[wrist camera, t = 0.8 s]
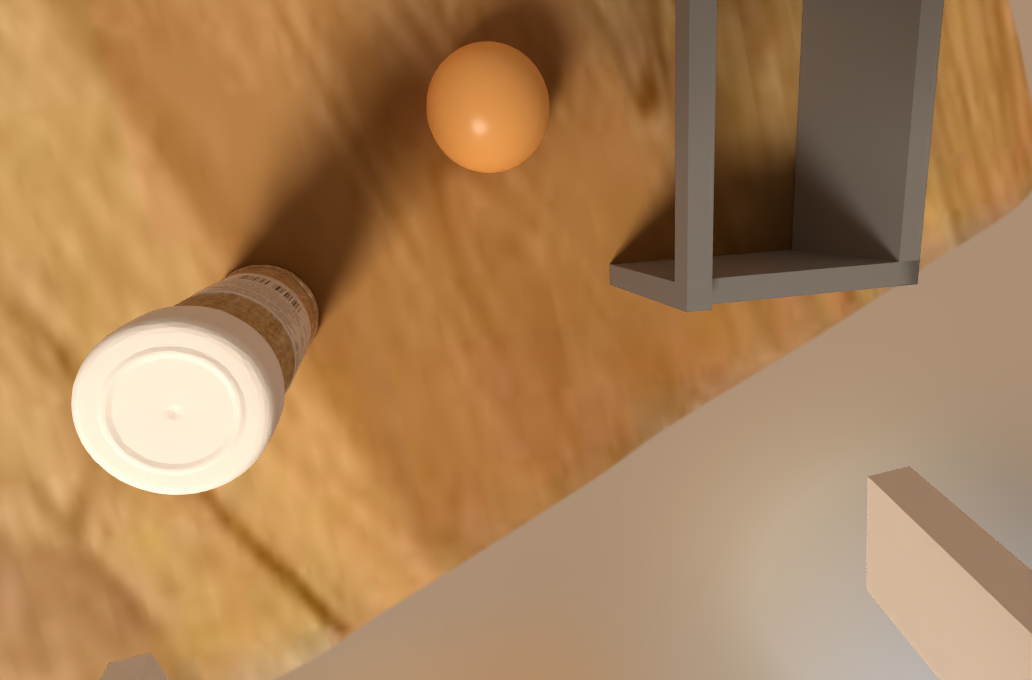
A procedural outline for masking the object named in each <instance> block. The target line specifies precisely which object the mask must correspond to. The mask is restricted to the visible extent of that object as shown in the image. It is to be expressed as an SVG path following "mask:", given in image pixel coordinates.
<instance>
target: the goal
mask: <svg viewBox="0 0 1032 680" xmlns="http://www.w3.org/2000/svg"><path fill="white" fill-rule="evenodd" d="M943 6H944V0H803V16H802V37H801V59H800V80H799V102H798V123H797V145H796V166H795V188H794V210H793V231H792V250H780V251H768V252H756V253H743V254H731V255H719V256H713V207H714V150H715V94H716V37H717V0H676V95H675V259H669V260H657V261H644V262H632V263H620V264H610V285H613V286H615V287H618V288H621V289H624V290H627V291H629V292H632V293H635V294H638V295H640V296H643V297H646V298H649V299H652V300H654V301H657V302H660V303H663V304H666V305H668V306H671V307H674V308H677V309H680V310H682V311H685V312H693V311H703V310H712V304H718V303H728V302H739V301H749V300H759V299H770V298H780V297H790V296H800V295H811V294H821V293H831V292H842V291H852V290H862V289H872V288H883V287H893V286H903V285H913V284H917V283H918V273H919V262H920V252H921V241H922V230H923V220H924V209H925V198H926V188H927V177H928V166H929V155H930V145H931V134H932V123H933V113H934V102H935V91H936V80H937V70H938V59H939V48H940V38H941V27H942V16H943Z"/></svg>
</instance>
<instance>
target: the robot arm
mask: <svg viewBox="0 0 1032 680" xmlns="http://www.w3.org/2000/svg"><path fill="white" fill-rule="evenodd" d="M866 565H867V566H866V590H867V591H868V592H869V593H870V594H871V596H872V597H873V598H874V599H875V601H876V602H877V603H878V604H879V606H880V607H881V608H882V609H883V610H884V612H885V613H886V614H887V615H888V617H889V618H890V619H891V620H892V622H893V623H894V624H895V625H896V627H897V628H898V629H899V630H900V631H901V633H902V634H903V635H904V636H905V638H906V639H907V640H908V641H909V643H910V644H911V645H912V646H913V647H914V649H915V650H916V651H917V652H918V654H919V655H920V656H921V657H922V659H923V660H924V661H925V662H926V663H927V665H928V666H929V667H930V669H931V670H932V671H933V672H934V673H935V675H936V676H937V677H938V678H939V680H1032V570H1031V569H1029V568H1028V567H1027V566H1026V565H1024V564H1023V563H1022V562H1021V561H1020V560H1019V559H1018V558H1016V557H1015V556H1014V555H1013V554H1012V553H1010V552H1009V551H1008V550H1007V549H1006V548H1005V547H1004V546H1002V545H1001V544H1000V543H999V542H998V541H996V540H995V539H994V538H993V537H992V536H991V535H989V534H988V533H987V532H986V531H985V530H983V529H982V528H981V527H980V526H979V525H978V524H977V523H975V522H974V521H973V520H972V519H971V518H969V517H968V516H967V515H966V514H965V513H964V512H962V511H961V510H960V509H959V508H958V507H956V506H955V505H954V504H953V503H952V502H951V501H950V500H948V499H947V498H946V497H945V496H943V494H941V493H940V492H939V491H938V490H936V489H935V488H934V487H933V486H932V485H931V484H930V483H928V482H927V481H926V480H925V479H924V478H923V477H921V476H920V475H919V474H918V473H917V472H916V471H914V470H913V469H912V468H911V467H905V468H901V469H897V470H893V471H889V472H885V473H881V474H876V475H873V476H868V501H867V563H866ZM100 680H169V679H168V677H167V676H166V674H165V673H164V671H163V670H162V668H161V667H160V665H159V664H158V662H157V661H156V659H155V658H154V656H153V655H152V653H148V654H144V655H140V656H136V657H132V658H128V659H124V660H120V661H115V662H111V663H109V664H108V666H107V668H106V670H105V671H104V673H103V675H102V677H101V678H100Z"/></svg>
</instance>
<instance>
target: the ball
mask: <svg viewBox="0 0 1032 680" xmlns="http://www.w3.org/2000/svg"><path fill="white" fill-rule="evenodd" d="M426 113H427V120H428V124H429V128H430V130H431V133H432V135H433V137H434V139H435V141H436V143H437V144H438V146H439V147H440V148H441V150H442V151H443V152H444V153H445V154H446V155H447V156H448V157H449V158H450V159H451V160H453V161H454V162H455V163H457V164H459V165H460V166H462V167H465V168H467V169H469V170H473V171H477V172H483V173H495V172H501V171H505V170H508V169H511V168H513V167H515V166H517V165H519V164H520V163H522V162H523V161H525V160H526V159H527V158H528V157H529V156H530V155H531V154H532V153H533V152H534V151H535V150H536V148H537V147H538V146H539V144H540V142H541V141H542V139H543V136H544V134H545V132H546V129H547V125H548V121H549V114H550V103H549V95H548V91H547V87H546V84H545V81H544V79H543V77H542V75H541V73H540V72H539V70H538V69H537V67H536V66H535V65H534V63H533V62H532V61H531V60H530V59H529V58H528V57H527V56H526V55H524V54H523V53H522V52H520V51H519V50H517V49H515V48H513V47H511V46H509V45H506V44H504V43H499V42H493V41H482V42H475V43H471V44H468V45H465V46H463V47H461V48H459V49H457V50H455V51H454V52H453V53H451V54H450V55H449V56H448V57H447V58H446V59H445V60H444V61H443V62H442V63H441V64H440V65H439V67H438V68H437V70H436V71H435V73H434V75H433V77H432V79H431V82H430V85H429V88H428V92H427V100H426Z"/></svg>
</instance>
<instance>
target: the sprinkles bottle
mask: <svg viewBox="0 0 1032 680" xmlns="http://www.w3.org/2000/svg"><path fill="white" fill-rule="evenodd" d="M318 317H319V314H318V307H317V303H316V300H315V298H314V295H313V294H312V292H311V290H310V288H309V287H308V286H307V285H306V284H305V283H304V282H303V281H302V280H301V279H300V278H299V277H297V276H295V275H294V274H293V273H292V272H290V271H288V270H286V269H283V268H280V267H277V266H272V265H251V266H247V267H243V268H240V269H238V270H236V271H234V272H232V273H231V274H229V275H228V276H227V277H226V278H225V279H223V280H221V281H219V282H217V283H215V284H213V285H211V286H209V287H207V288H205V289H203V290H201V291H199V292H197V293H196V294H194V295H192V296H191V297H190V298H188V299H186V300H184V301H182V302H181V303H179V304H177V305H175V306H174V307H167V308H162V309H158V310H155V311H152V312H149V313H147V314H145V315H143V316H140V317H138V318H136V319H134V320H132V321H131V322H129V323H127V324H125V325H124V326H122V327H120V328H119V329H117V330H116V331H114V332H112V333H111V334H109V335H108V336H107V337H105V338H104V339H103V340H102V341H101V342H100V343H98V344H97V345H96V346H95V347H94V348H93V349H92V351H91V352H90V353H89V354H88V356H87V357H86V358H85V360H84V362H83V363H82V365H81V367H80V369H79V371H78V373H77V376H76V379H75V382H74V384H73V389H72V391H73V393H72V403H71V406H72V415H73V420H74V424H75V428H76V431H77V433H78V436H79V438H80V440H81V442H82V444H83V445H84V447H85V449H86V450H87V452H88V453H89V454H90V455H91V456H92V458H93V459H94V460H95V461H96V462H97V463H98V464H99V465H100V466H101V467H103V468H104V469H105V470H106V471H107V472H108V473H110V474H111V475H113V476H114V477H116V478H118V479H119V480H121V481H123V482H125V483H127V484H129V485H131V486H134V487H137V488H140V489H143V490H146V491H150V492H155V493H161V494H173V495H178V494H193V493H199V492H203V491H207V490H210V489H213V488H216V487H219V486H221V485H224V484H226V483H228V482H230V481H232V480H233V479H235V478H236V477H238V476H239V475H241V474H242V473H243V472H245V471H246V470H247V469H248V468H249V467H250V466H251V465H252V464H253V463H254V462H255V461H256V460H257V459H258V458H259V457H260V455H261V454H262V453H263V451H264V449H265V448H266V446H267V444H268V442H269V441H270V439H271V437H272V435H273V433H274V430H275V428H276V426H277V424H278V422H279V419H280V416H281V413H282V410H283V406H284V398H285V394H286V392H287V391H288V389H289V387H290V385H291V383H292V381H293V378H294V376H295V374H296V372H297V370H298V368H299V365H300V363H301V361H302V359H303V357H304V355H305V353H306V350H307V348H308V346H309V345H310V344H311V342H312V340H313V339H314V337H315V334H316V331H317V328H318Z"/></svg>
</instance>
